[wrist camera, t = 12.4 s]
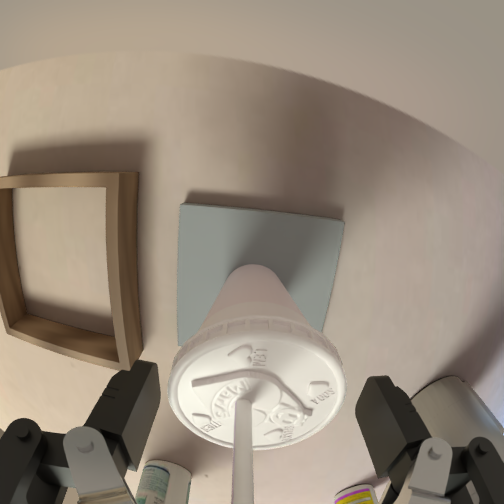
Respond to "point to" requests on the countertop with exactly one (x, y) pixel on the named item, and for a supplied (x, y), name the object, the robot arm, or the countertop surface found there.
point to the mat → (253, 257)
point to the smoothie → (255, 374)
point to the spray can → (163, 484)
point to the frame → (118, 264)
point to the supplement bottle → (357, 495)
